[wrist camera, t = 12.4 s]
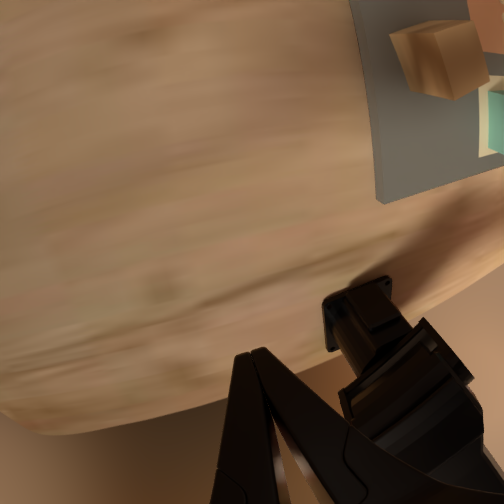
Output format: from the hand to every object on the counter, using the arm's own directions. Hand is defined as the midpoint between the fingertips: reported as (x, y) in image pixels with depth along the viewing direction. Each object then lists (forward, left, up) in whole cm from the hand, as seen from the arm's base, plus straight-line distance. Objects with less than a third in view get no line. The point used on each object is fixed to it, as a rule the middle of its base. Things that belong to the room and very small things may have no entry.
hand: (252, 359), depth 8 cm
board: (+6, -20, -12) cm, 24 cm away
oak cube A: (+6, -16, -11) cm, 20 cm away
